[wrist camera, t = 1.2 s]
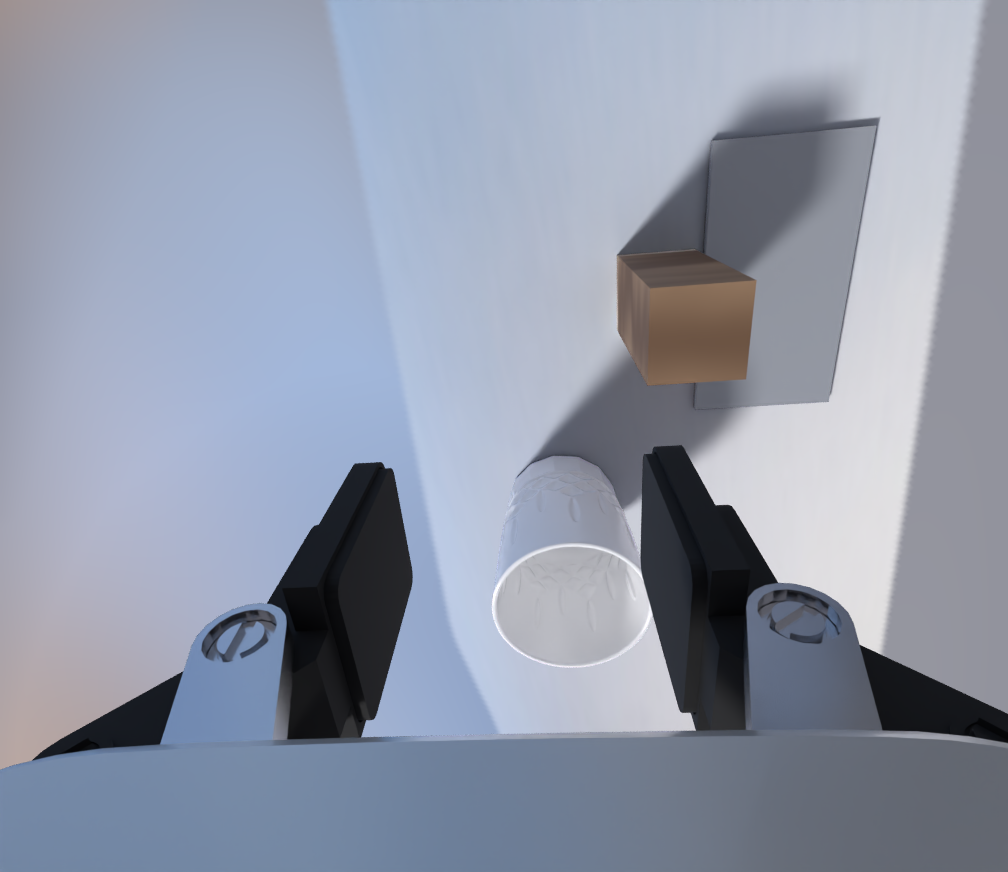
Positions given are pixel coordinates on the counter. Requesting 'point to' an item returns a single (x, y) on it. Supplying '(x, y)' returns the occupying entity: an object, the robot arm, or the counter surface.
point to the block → (684, 316)
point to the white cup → (568, 568)
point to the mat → (787, 254)
